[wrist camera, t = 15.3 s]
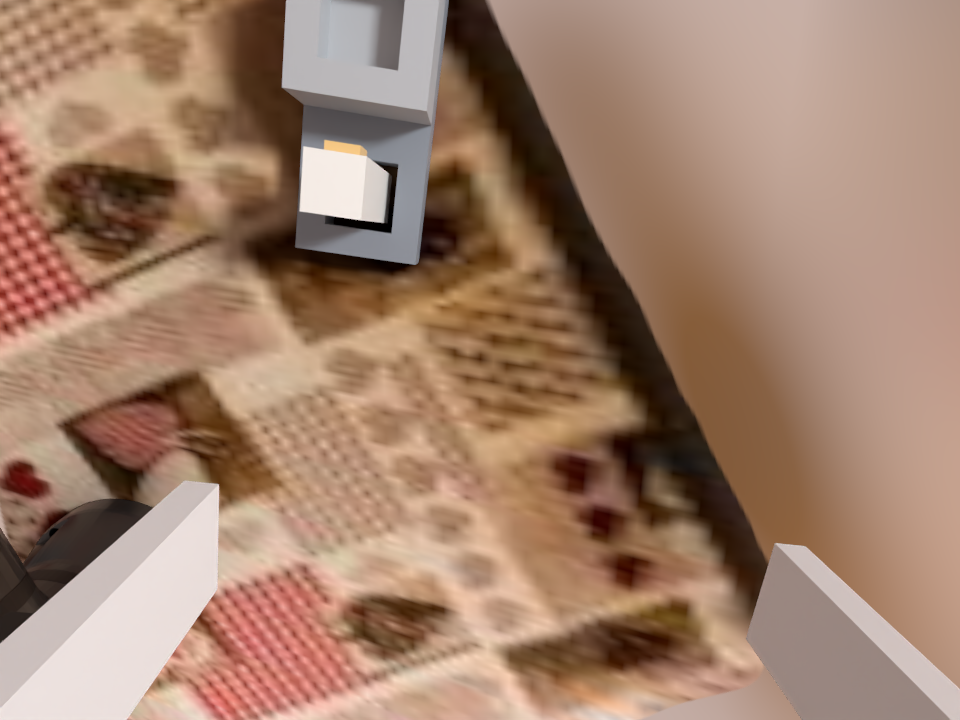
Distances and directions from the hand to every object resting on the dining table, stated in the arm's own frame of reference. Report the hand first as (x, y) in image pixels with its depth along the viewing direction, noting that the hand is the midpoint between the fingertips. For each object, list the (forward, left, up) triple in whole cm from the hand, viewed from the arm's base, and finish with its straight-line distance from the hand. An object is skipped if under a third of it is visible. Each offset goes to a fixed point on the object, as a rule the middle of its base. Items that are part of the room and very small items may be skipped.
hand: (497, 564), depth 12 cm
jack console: (-11, +15, -37) cm, 41 cm away
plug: (-11, +9, -37) cm, 39 cm away
